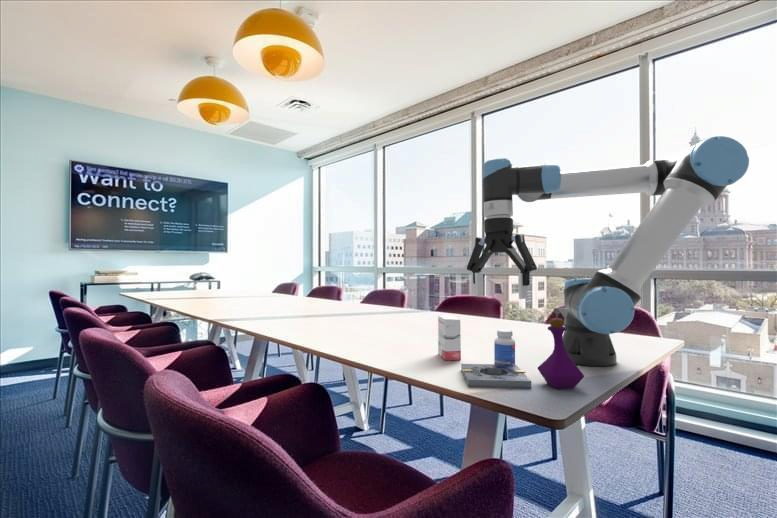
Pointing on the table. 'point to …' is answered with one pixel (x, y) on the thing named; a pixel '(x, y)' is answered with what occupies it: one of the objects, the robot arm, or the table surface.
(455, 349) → the ink box
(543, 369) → the perfume bottle
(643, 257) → the robot arm
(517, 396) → the table surface
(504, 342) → the pill bottle
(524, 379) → the socket plate
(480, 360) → the table surface
